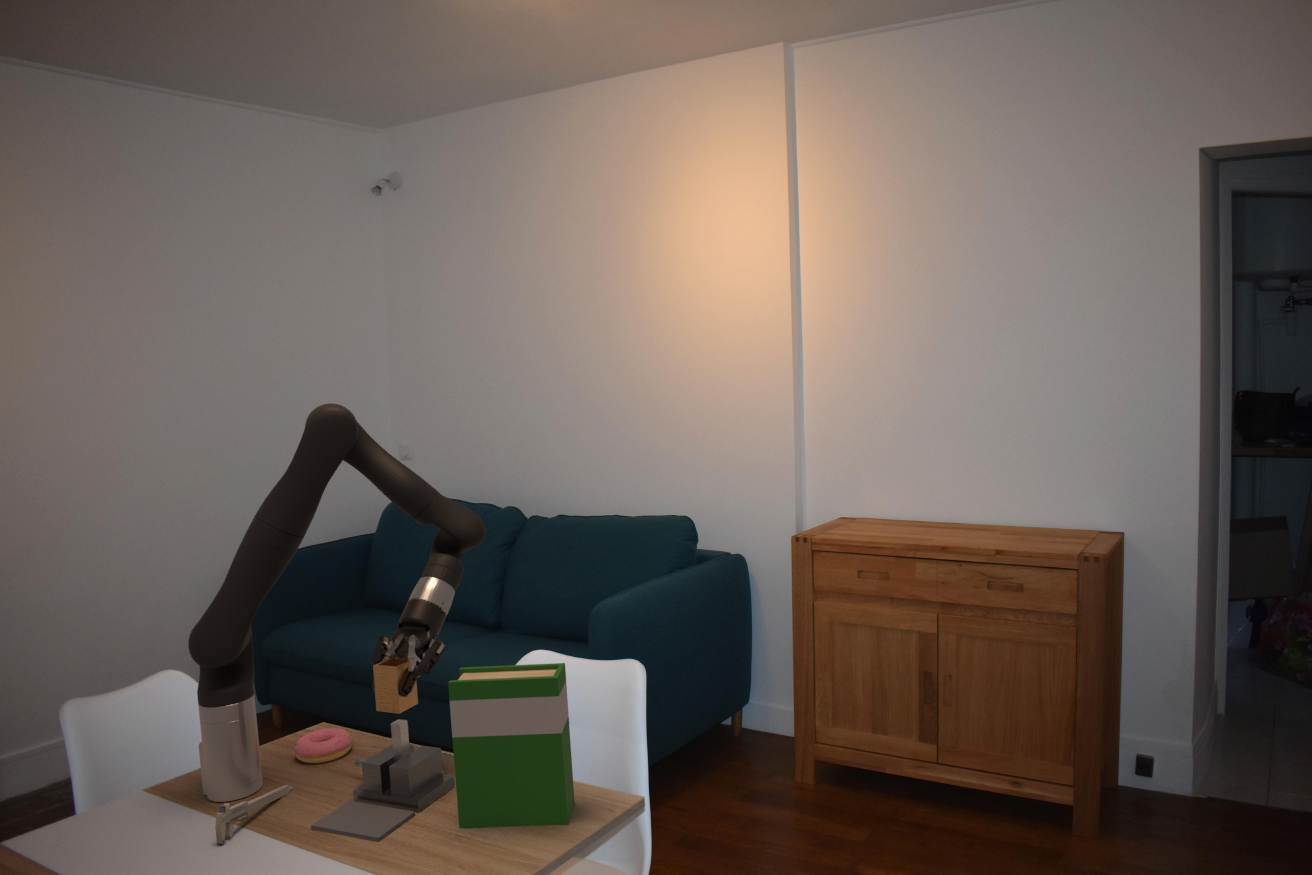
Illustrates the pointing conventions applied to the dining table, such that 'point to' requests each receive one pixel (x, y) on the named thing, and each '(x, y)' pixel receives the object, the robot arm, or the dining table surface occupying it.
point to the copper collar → (392, 686)
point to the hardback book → (512, 746)
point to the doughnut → (323, 745)
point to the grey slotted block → (403, 774)
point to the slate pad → (363, 820)
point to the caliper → (242, 812)
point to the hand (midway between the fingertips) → (389, 692)
